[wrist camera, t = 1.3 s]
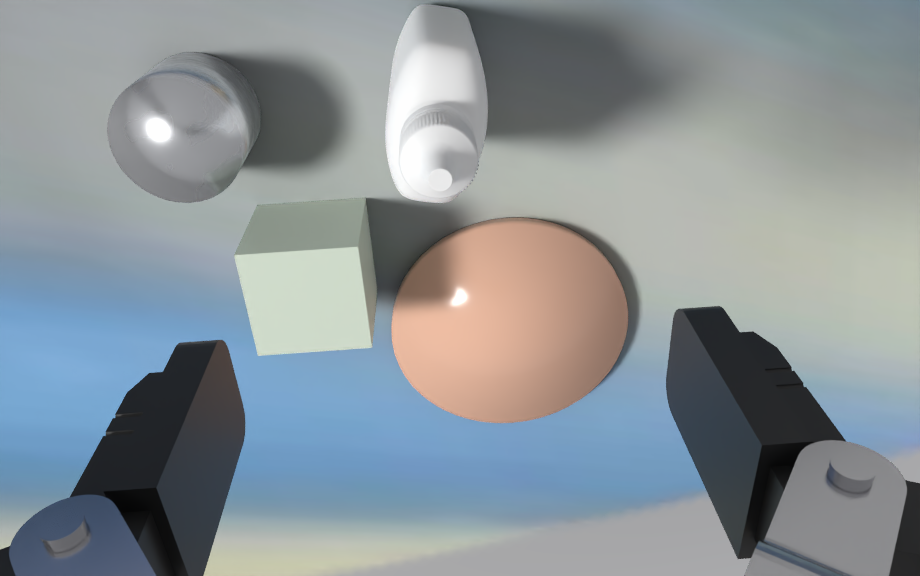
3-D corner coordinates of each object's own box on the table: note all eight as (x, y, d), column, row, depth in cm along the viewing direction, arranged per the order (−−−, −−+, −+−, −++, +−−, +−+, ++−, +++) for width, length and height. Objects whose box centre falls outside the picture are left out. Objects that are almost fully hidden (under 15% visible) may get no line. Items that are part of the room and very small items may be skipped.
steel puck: (127, 55, 30) (89, 81, 27) (248, 47, 30) (227, 72, 27) (158, 169, 33) (128, 206, 29) (271, 162, 33) (254, 198, 29)
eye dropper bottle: (513, 50, 31) (563, 147, 20) (434, 152, 33) (442, 288, 22) (430, -18, 29) (437, 51, 19) (352, 95, 31) (321, 211, 21)
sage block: (257, 204, 34) (234, 255, 29) (365, 197, 34) (358, 246, 30) (277, 296, 36) (258, 355, 32) (377, 289, 36) (372, 347, 32)
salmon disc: (379, 226, 34) (379, 234, 34) (632, 209, 35) (636, 216, 34) (403, 421, 41) (402, 430, 40) (617, 404, 41) (620, 414, 40)
